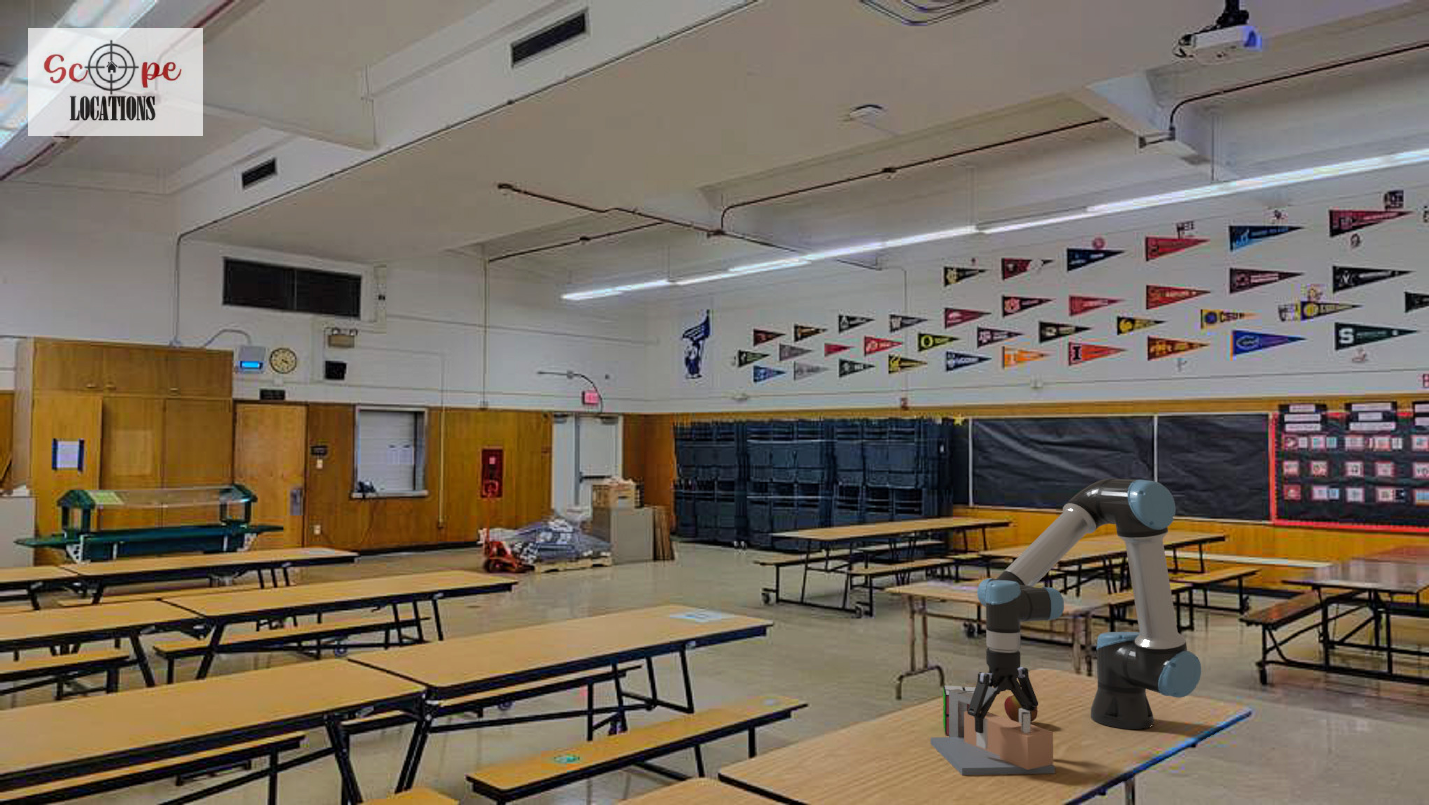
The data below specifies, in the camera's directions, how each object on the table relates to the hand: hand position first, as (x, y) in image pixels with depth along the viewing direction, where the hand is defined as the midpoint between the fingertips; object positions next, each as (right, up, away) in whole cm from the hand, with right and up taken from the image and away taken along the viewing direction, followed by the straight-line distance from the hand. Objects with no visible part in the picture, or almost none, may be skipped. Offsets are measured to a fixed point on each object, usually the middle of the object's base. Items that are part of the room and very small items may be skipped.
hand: (1003, 742), depth 207 cm
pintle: (+3, -3, -6) cm, 7 cm away
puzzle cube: (-3, -5, +21) cm, 21 cm away
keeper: (-5, -4, +10) cm, 12 cm away
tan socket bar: (0, -2, 0) cm, 2 cm away
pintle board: (-3, -4, +1) cm, 5 cm away
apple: (+13, -6, +27) cm, 31 cm away
